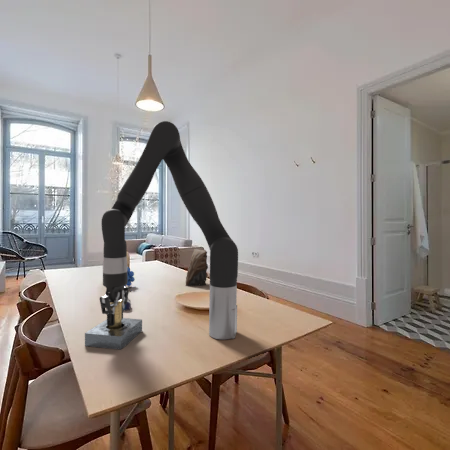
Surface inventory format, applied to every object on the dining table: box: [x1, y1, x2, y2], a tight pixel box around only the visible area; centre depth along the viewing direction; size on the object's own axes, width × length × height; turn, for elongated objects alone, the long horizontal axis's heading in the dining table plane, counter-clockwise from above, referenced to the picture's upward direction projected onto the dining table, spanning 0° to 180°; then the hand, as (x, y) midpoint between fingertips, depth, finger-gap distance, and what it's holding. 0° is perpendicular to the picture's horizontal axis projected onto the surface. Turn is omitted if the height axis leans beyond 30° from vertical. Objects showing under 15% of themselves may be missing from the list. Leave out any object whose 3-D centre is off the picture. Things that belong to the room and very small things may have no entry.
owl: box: [185, 248, 209, 287], centre depth 166 cm, size 13×13×20 cm
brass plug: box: [108, 301, 122, 329], centre depth 93 cm, size 4×4×12 cm
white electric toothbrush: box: [123, 293, 132, 311], centre depth 131 cm, size 5×7×25 cm
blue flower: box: [124, 266, 135, 287], centre depth 155 cm, size 12×7×12 cm, turn 125°
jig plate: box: [84, 317, 143, 351], centre depth 93 cm, size 12×14×4 cm
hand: (115, 322), depth 93 cm, fingers open, 4 cm apart
